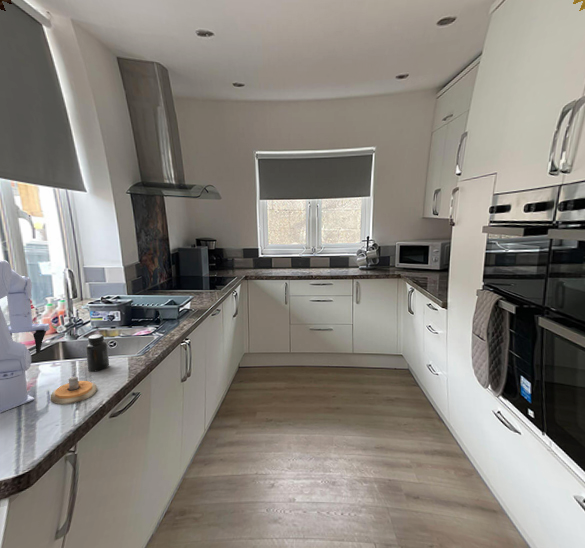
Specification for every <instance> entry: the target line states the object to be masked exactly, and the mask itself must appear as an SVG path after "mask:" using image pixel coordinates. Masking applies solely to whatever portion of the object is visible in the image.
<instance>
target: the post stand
mask: <svg viewBox="0 0 585 548" xmlns="http://www.w3.org/2000/svg"><path fill="white" fill-rule="evenodd" d="M78 381H79V378H78V376H72V377H69V378H68V383H69V390H68V391H74V390H78V389H80V388H79V385H78ZM90 382H91V381H90ZM91 383H92V389H91V390H90V391H89V392H88V393H86V394H83V395H81V396H78V397H74V398H69V399H68V398H58V397H56V396H55V390H54V391H52V393H51V394H50V401H51V402H52V403H54V404H57V405H68V404H74V403H78V402H81V401H84V400H87V399H89V398H91V397H92V396H94V395H95V394H96V393H97V390H98V386H97V384H95V382H91Z"/></svg>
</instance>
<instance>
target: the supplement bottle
mask: <svg viewBox="0 0 585 548" xmlns="http://www.w3.org/2000/svg"><path fill="white" fill-rule="evenodd" d="M87 339H88V341H87V343H88V344H86V346H85V352H86V353H85V355H86V364H87V366H86V367H87V370H88V371H90V372H100V371H104V370H106V369H107V368H108V367H109V366H110V360H109V359H110V358H109V357H110V356H109V347H108V343H107V342H106V341H105V338H104V334H101V333H100V334H99V333H98V334H97V333H96V334H91V335H89V336H88V337H87Z"/></svg>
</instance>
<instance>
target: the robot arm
mask: <svg viewBox="0 0 585 548" xmlns="http://www.w3.org/2000/svg"><path fill="white" fill-rule="evenodd" d="M32 283H33V282H32V279H31V278H30V277H28V276H27V275H23V276H22V275H21V274H19V273H18V272H16V271H15V270H14V268H12V267H11V264H10V262H8V261H7V260H6V259H2V260H0V300H2V299H4V298H5V297H6V298H7V308H8V309H7V310H8V318H9V319H8V320H9V325H8V324H7V321H6V317H5V316H4V313H3V310H2V308H1V307H2V306H0V414H1V413H4V412H6V411H8V410H11V409H14V408H16V407H19V406H21V405H24V404H27V403H29V402H32V401H34V400H35V397H33V396H31V395H29V394H28V387H27V386H28V385H27V377H26V376H27V375H26V371H28V370H29V369H30V368H31V365H32V354H31V351H30V350H29V349H28V348H27V346H26V344H24V343H21V342H19V341H18V342H17V341H14V340H13V337H12V336H13V334H16V333H19V334H20V333H30V332H31V333H32V332H34V333H33V339H34V343H35V353H36V354H40V353H41V352H42V351H41V350H42V344H43V340H44V337H45V336H46V333H47V332H49V330H50V323H33V314H32V312H33V311H32V305H31V304H32V303H31V298H32V288H33V287H32V286H33V285H32Z"/></svg>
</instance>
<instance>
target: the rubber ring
mask: <svg viewBox="0 0 585 548" xmlns="http://www.w3.org/2000/svg"><path fill="white" fill-rule="evenodd" d="M92 383H93V382H92ZM92 383H91V381H89V380H78V385H79V388H80V389H78V390H74V391H68V390H69V382H68V383H65V384H63V385H60V386H59V387H58V388H56V389H55V390H54V391H55V396H56V397H58V398H68V399H69V398H74V397H78V396H81V395H83V394H86V393H88V392H89V391H90V390H91V389H92Z"/></svg>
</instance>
